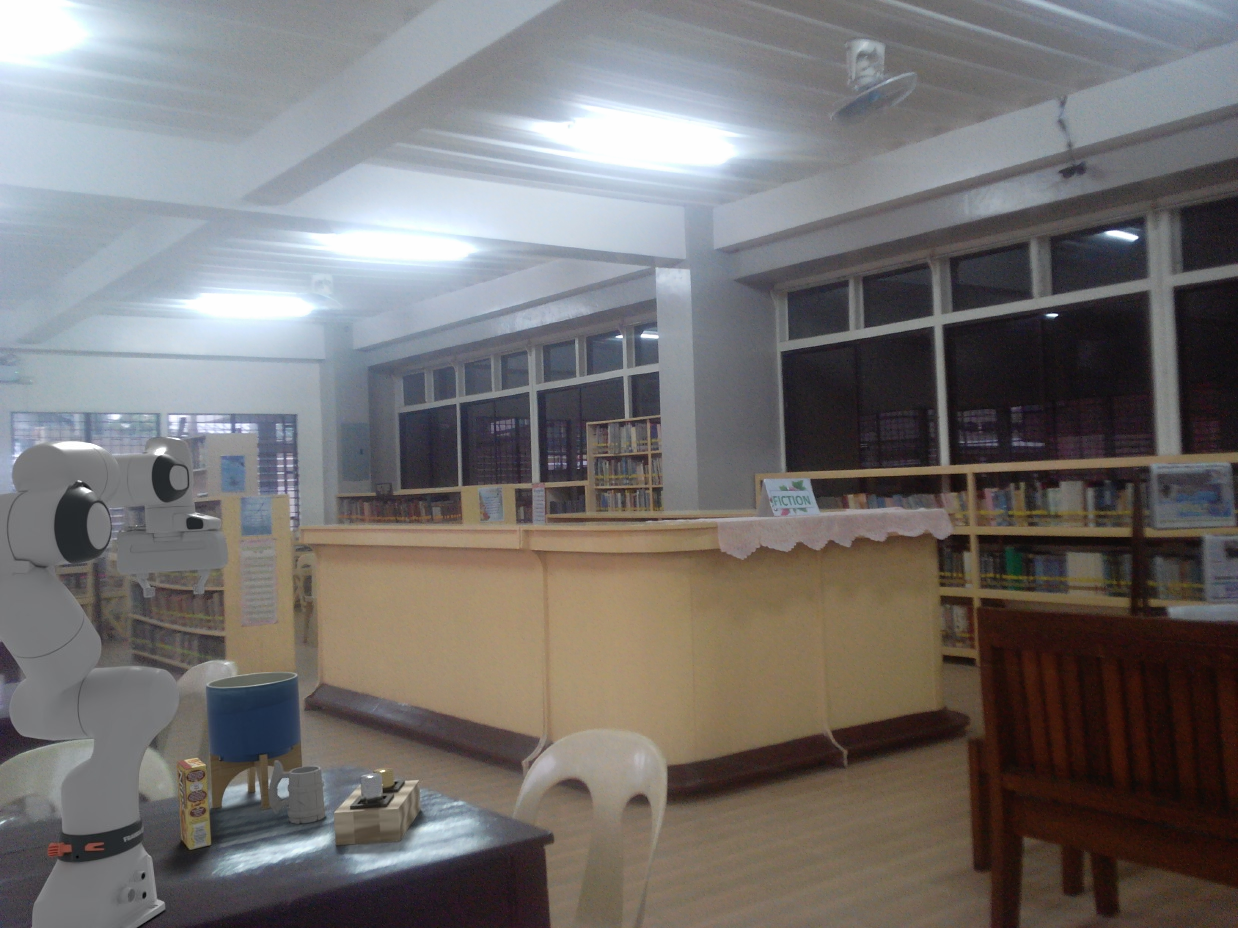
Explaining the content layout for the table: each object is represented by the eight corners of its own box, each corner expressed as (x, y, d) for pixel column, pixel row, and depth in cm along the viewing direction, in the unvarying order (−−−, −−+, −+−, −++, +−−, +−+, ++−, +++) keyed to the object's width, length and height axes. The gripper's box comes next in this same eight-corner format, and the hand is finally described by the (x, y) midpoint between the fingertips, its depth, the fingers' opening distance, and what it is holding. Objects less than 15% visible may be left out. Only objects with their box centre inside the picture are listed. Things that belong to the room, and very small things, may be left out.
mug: (318, 823, 209) (315, 762, 209) (261, 825, 210) (258, 765, 210) (332, 811, 217) (329, 753, 217) (277, 813, 218) (274, 756, 218)
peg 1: (380, 812, 197) (379, 777, 198) (359, 813, 197) (357, 779, 198) (385, 806, 201) (383, 772, 202) (365, 807, 201) (363, 773, 202)
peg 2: (393, 805, 207) (391, 772, 208) (372, 806, 207) (371, 773, 208) (397, 799, 211) (395, 767, 212) (377, 800, 211) (375, 768, 212)
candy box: (212, 845, 199) (208, 764, 199) (188, 850, 196) (184, 768, 197) (202, 834, 206) (198, 756, 207) (179, 839, 204) (175, 760, 204)
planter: (218, 818, 217) (212, 690, 218) (206, 797, 234) (200, 679, 235) (312, 800, 227) (306, 678, 228) (294, 782, 243) (288, 668, 244)
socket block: (399, 841, 194) (397, 805, 194) (335, 844, 194) (333, 809, 195) (420, 809, 214) (419, 776, 214) (362, 812, 214) (360, 780, 215)
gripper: (108, 526, 196) (111, 600, 196) (217, 519, 196) (220, 593, 196) (124, 525, 202) (127, 597, 202) (229, 519, 202) (233, 590, 202)
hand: (174, 595), depth 199 cm, fingers open, 8 cm apart
